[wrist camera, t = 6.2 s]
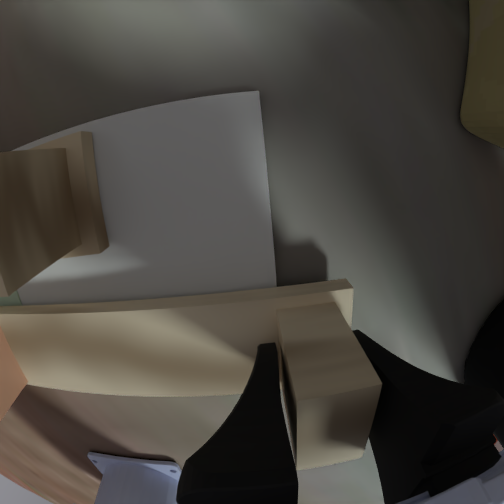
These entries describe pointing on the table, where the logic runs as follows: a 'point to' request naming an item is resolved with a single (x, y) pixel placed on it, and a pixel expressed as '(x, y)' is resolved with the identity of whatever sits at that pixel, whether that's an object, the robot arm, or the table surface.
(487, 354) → the coffee jar
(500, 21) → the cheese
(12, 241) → the broken strip
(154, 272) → the mat
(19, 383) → the cube
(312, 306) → the beige wooden beam
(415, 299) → the table surface
